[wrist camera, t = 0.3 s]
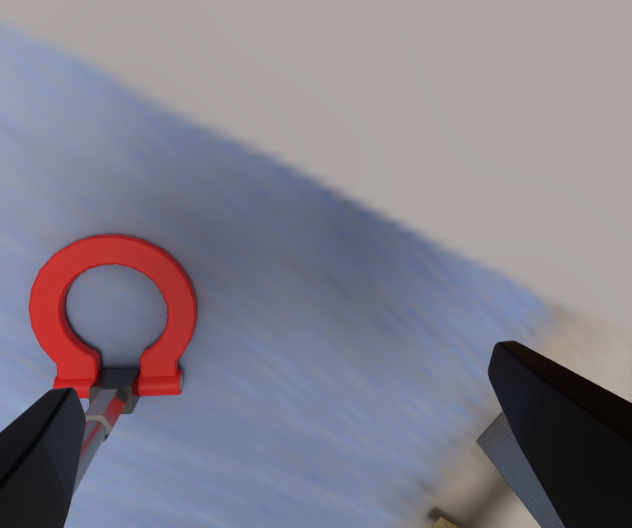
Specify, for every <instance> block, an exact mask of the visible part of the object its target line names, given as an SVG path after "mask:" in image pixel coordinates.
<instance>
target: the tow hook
mask: <svg viewBox="0 0 632 528" xmlns="http://www.w3.org/2000/svg"><path fill="white" fill-rule="evenodd" d="M108 264H118V265H123V266H127V267H131V268H133V269H136V270H138V271H140V272H142V273H144V274H145V275H146V276H147V277H149V278H150V279H151V280H152V281H154V282H155V284H156V285H157V287H158V288H159V289H160V291H161V292H162V294H163V297H164V299H165V302H166V304H167V315H168V318H167V323H166V328H165V330H164V332H163V334H162V336H161V337H160V338H159V339H158V340H157V341H156V342H155V343H154V344H153V345H152V346H150V347H149V348H147V349H145V350H144V352H143V354H142V356H141V357H140V369H115V370H102V371H101V368H100V355H99V354H98V353H97V351H95V350H93V349H90V348H89V347H88V346H86V345H85V344H84V343H82V342H81V341H80V340H79V339H78V338H77V337H76V335H75V334H74V333H73V332H72V331H71V328H70V326H69V324H68V322H67V320H66V314H65V307H64V306H65V300H66V294H67V292H68V290H69V288H70V286H71V284H72V282H73V281H74V280H75V279H76V278H77V277H78V276H79V274H80V273H82V272H84V271H85V270H87V269H89V268H92V267H96V266H99V265H108ZM29 313H30V319H31V326H32V329H33V331H34V333H35V336H36V338H37V340H38V342H39V344H40V346H41V347H42V349H43V350H44V351H45V352H46V353H47V354H48V356H49V357H50V358H51V359H52V360H53V361H54V362H55V363H56V364H57V374H58V375H57V376H56V378H55V380H54V385H53V389H56V388H65V387H73V388H74V389H75V390H76V391H77V394H78V396H79V398H89V403H90V406H89V408H88V409H87V411H86V413H85V417H86V428H85V433H84V438H83V444H82V449H81V454H80V459H79V464H78V470H77V475H76V480H75V485H74V491H73V495H74V493H75V492H76V490H77V488H78V486H79V484H80V482H81V480H82V478H83V477H84V475H85V473H86V471H87V469H88V467H89V465H90V463H91V462H92V460H93V458H94V456H95V454H96V452H97V450H98V448H99V446H100V445H101V443H102V442H104V441H106V439H107V437H108V436H109V434H110V432H111V431H112V429H113V427H114V425H115V423H116V421H117V419H118V417H119V415H120V414H131V413H132V412H133V410H134V408H135V406H136V404H137V402H138V400H139V398H140V396H160V395H180V394H181V391H182V387H183V374H182V370H178V358H179V357H180V356H181V355H182V354H183V353H184V351H185V349H186V347H187V345H188V343H189V342H190V340H191V338H192V335H193V331H194V327H195V322H196V318H197V308H196V296H195V293H194V291H193V288H192V285H191V282H190V280H189V278H188V276H187V275H186V273H185V272H184V271H183V269H182V268H181V266H180V265H179V263H178V262H177V261H176V260H174V259H173V258H172V257H171V256H170V255H168V254H167V253H166V252H165V251H164V250H163V249H161V248H159V247H157V246H155V245H153V244H151V243H149V242H147V241H145V240H143V239H139V238H135V237H130V236H126V235H121V234H116V235H97V236H93V237H90V238H86V239H82V240H79V241H76V242H74V243H72V244H71V245H69V246H67V247H66V248H64V249H62V250H61V251H59V252H57V253H56V254H54V255H53V256H52V257H51V259H50V260H49V261H48V262H47V263H46V264H45V265H44V266H43V267H42V268H41V269H40V271H39V273H38V276H37V278H36V280H35V282H34V284H33V286H32V288H31V295H30V302H29ZM73 495H72V497H73Z"/></svg>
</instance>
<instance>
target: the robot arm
mask: <svg viewBox="0 0 632 528" xmlns="http://www.w3.org/2000/svg"><path fill="white" fill-rule="evenodd" d="M488 376H489V380H490V382H491V384H492V387H493V389H494V391H495V394H496V396H497V398H498V401H499V403H500V405H501V407H502V410H503V412H504V414H505V417H506V419H507V421H508V424H509V426H510V428H511V430H512V433H513V435H514V437H515V439H516V441H517V443H518V445H519V447H520V448H521V450H522V452H523V454H524V456H525V457H526V459H527V461H528V463H529V465H530V466H531V468H532V470H533V472H534V473H535V475H536V477H537V479H538V481H539V482H540V484H541V486H542V488H543V490H544V491H545V493H546V495H547V497H548V498H549V500H550V502H551V504H552V506H553V507H554V509H555V511H556V513H557V515H558V516H559V518H560V520H561V522H562V523H563V525H564V527H565V528H632V403H630V402H629V401H627V400H625V399H623V398H621V397H619V396H617V395H616V394H614V393H612V392H610V391H608V390H606V389H604V388H602V387H601V386H599V385H597V384H595V383H593V382H591V381H589V380H588V379H586V378H584V377H582V376H580V375H578V374H576V373H574V372H573V371H571V370H569V369H567V368H565V367H563V366H561V365H559V364H558V363H556V362H554V361H552V360H550V359H548V358H546V357H545V356H543V355H541V354H539V353H537V352H535V351H533V350H531V349H530V348H528V347H526V346H524V345H522V344H520V343H518V342H516V341H503V342H498V343H496V345H495V346H494V349H493V353H492V356H491V360H490V364H489V367H488ZM85 428H86V417H85V413H84V410H83V408H82V405H81V402H80V399H79V396H78V394H77V391H76V390H75V389H74V388H73V387H65V388H56V389H51V390H49V391H48V392H47V393H45V394H44V395H43V396H42V397H41V398H40V399H39V400H37V401H36V402H35V403H34V404H33V405H32V406H30V407H29V408H28V409H27V410H26V411H25V412H23V413H22V414H21V415H20V416H19V417H18V418H16V419H15V420H14V421H13V422H12V423H11V424H10V425H8V426H7V427H6V428H5V429H4V430H3V431H1V432H0V528H64V524H65V521H66V518H67V515H68V511H69V508H70V504H71V500H72V495H73V491H74V485H75V480H76V475H77V470H78V464H79V459H80V454H81V449H82V444H83V438H84V433H85Z"/></svg>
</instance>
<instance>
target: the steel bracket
mask: <svg viewBox="0 0 632 528" xmlns="http://www.w3.org/2000/svg"><path fill="white" fill-rule="evenodd" d="M477 443H478V444H479V445H480V447H481V448H482V449H483V451H484V452H485V453H486V455H487V456H488V457H489V459H490V460H491V461H492V463H493V464H494V465H495V467H496V468H497V469H498V471H499V472H500V473H501V475H502V476H503V477H504V479H505V480H506V481H507V483H508V484H509V485H510V487H511V488H512V489H513V491H514V492H515V493H516V495H517V496H518V497H519V499H520V500H521V501H522V503H523V504H524V505H525V507H526V508H527V509H528V511H529V512H530V513H531V515H532V516H533V517H534V519H535V520H536V521H537V523H538V524H539V525H540V527H541V528H565V527H564V525H563V523H562V522H561V520H560V518H559V516H558V515H557V513H556V511H555V509H554V507H553V506H552V504H551V502H550V500H549V498H548V497H547V495H546V493H545V491H544V490H543V488H542V486H541V484H540V482H539V481H538V479H537V477H536V475H535V473H534V472H533V470H532V468H531V466H530V465H529V463H528V461H527V459H526V457H525V456H524V454H523V452H522V450H521V448H520V447H519V445H518V443H517V441H516V439H515V437H514V435H513V433H512V430H511V428H510V426H509V424H508V421H507V419H506V417H505V414H504V412H502V413H501V414H500V415H499V417H498V418H497V419H496V420H495V421H494V422H493V423H492V424H491V426H490V427H489V428H488V429H487V430H486V431H485V432H484V433H483V435H482V436H481V437H480V438H479V439H478V440H477Z"/></svg>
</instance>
